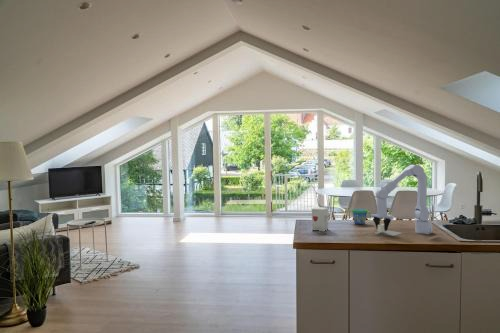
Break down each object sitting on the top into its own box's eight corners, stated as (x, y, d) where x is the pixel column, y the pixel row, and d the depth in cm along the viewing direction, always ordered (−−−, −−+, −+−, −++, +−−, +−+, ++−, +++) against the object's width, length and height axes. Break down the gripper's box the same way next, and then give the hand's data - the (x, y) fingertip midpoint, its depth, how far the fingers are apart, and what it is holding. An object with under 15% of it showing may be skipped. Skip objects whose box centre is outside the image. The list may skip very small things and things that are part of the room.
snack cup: (372, 223, 309) (372, 209, 309) (368, 225, 300) (368, 211, 300) (351, 221, 317) (351, 208, 317) (346, 224, 308) (346, 210, 308)
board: (403, 235, 265) (403, 228, 265) (393, 238, 257) (393, 231, 257) (384, 232, 275) (384, 225, 275) (374, 235, 266) (373, 228, 266)
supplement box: (311, 230, 286) (311, 208, 285) (315, 228, 294) (315, 206, 293) (324, 231, 281) (324, 209, 281) (328, 229, 289) (328, 207, 289)
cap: (387, 231, 266) (387, 224, 266) (383, 232, 262) (383, 225, 262) (380, 230, 269) (380, 223, 269) (376, 231, 266) (376, 224, 266)
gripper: (368, 207, 268) (368, 229, 269) (389, 210, 257) (389, 232, 258) (374, 206, 273) (374, 227, 273) (395, 208, 262) (395, 230, 263)
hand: (381, 229), depth 266 cm, fingers closed on cap, 5 cm apart
